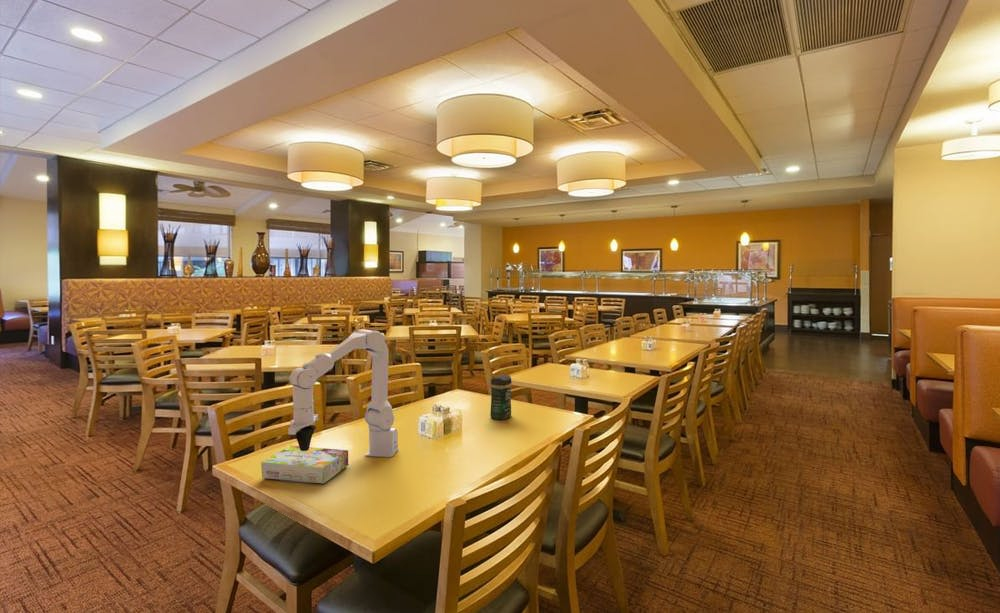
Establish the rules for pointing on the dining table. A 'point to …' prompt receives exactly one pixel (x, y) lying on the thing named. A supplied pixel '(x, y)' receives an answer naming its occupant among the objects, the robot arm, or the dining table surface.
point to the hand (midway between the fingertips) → (304, 450)
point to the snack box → (305, 464)
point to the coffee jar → (501, 397)
